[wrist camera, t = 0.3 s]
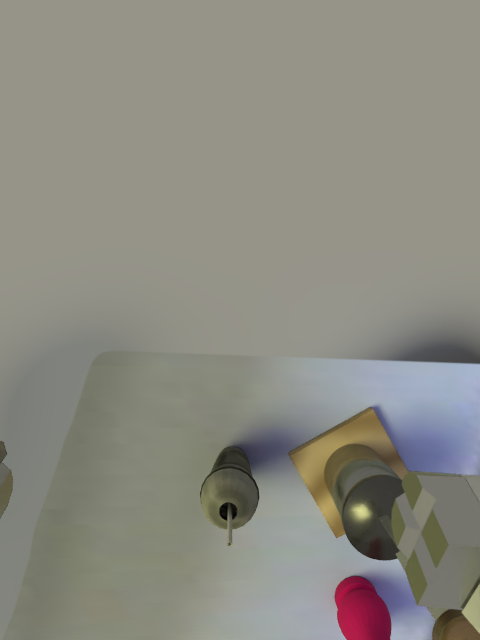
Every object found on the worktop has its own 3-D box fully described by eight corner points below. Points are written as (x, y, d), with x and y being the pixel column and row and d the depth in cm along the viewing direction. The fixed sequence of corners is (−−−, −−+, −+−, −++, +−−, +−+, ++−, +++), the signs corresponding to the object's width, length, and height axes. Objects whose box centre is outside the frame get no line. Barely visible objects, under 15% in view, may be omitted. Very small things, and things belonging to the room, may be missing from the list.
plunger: (441, 566, 40) (526, 677, 28) (401, 588, 40) (469, 708, 28) (419, 527, 40) (495, 622, 28) (379, 549, 40) (437, 653, 28)
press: (407, 501, 61) (504, 614, 38) (350, 532, 61) (412, 664, 38) (367, 429, 60) (440, 501, 38) (310, 461, 61) (348, 552, 38)
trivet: (415, 487, 62) (420, 492, 60) (334, 532, 62) (336, 538, 61) (370, 407, 62) (373, 409, 60) (288, 452, 62) (289, 456, 61)
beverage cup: (249, 432, 62) (251, 490, 42) (262, 478, 62) (270, 558, 42) (202, 444, 62) (182, 508, 42) (215, 490, 62) (201, 576, 42)
